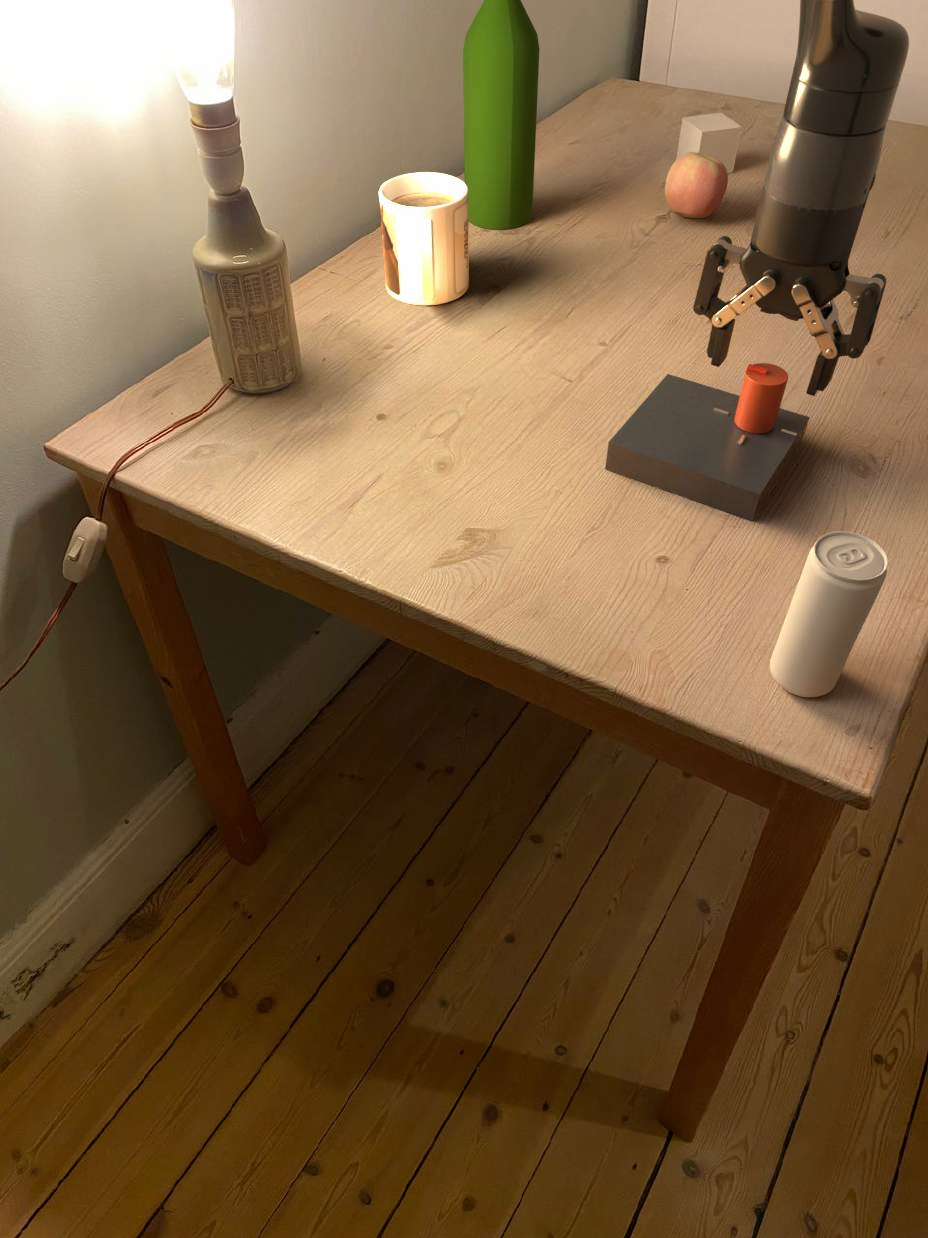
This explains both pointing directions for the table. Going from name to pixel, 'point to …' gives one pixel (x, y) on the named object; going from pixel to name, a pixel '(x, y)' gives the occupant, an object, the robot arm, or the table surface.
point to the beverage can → (827, 612)
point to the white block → (710, 137)
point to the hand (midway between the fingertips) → (765, 376)
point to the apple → (695, 185)
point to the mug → (425, 237)
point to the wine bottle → (500, 114)
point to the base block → (704, 447)
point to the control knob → (760, 397)
